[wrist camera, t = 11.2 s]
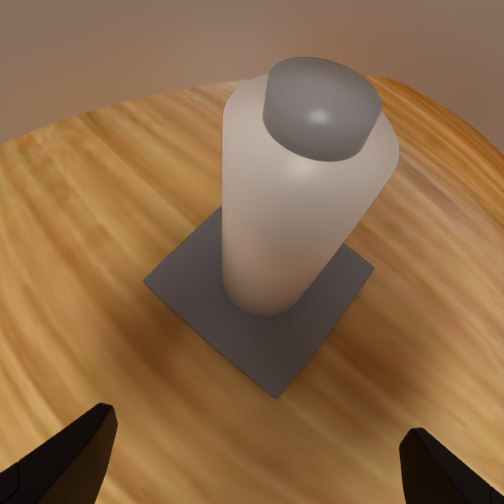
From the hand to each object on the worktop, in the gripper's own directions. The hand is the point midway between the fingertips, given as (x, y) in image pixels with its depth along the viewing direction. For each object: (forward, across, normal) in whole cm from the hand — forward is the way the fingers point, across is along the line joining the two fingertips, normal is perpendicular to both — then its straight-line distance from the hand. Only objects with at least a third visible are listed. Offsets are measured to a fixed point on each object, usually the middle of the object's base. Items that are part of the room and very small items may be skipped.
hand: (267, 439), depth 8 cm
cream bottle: (+11, 0, 0) cm, 11 cm away
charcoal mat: (+12, 0, 0) cm, 12 cm away
